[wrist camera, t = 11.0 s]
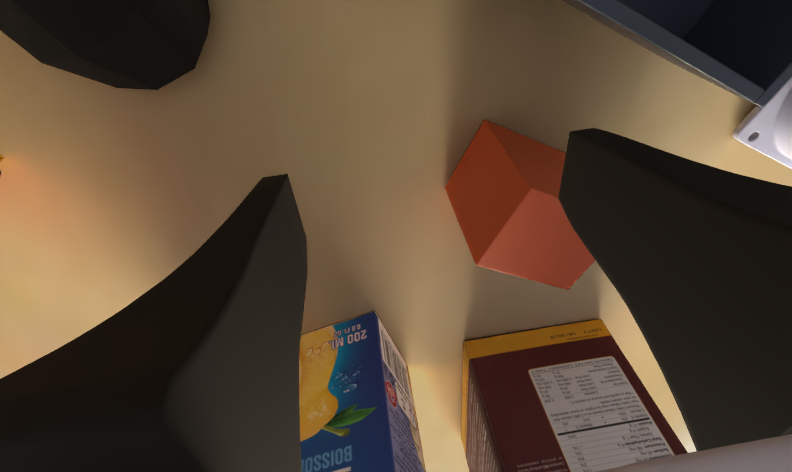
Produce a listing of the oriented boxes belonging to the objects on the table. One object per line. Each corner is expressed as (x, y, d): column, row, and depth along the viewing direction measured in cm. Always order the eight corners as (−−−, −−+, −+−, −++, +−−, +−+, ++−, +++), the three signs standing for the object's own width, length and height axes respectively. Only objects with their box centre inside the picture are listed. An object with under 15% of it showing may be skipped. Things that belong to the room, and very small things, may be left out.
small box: (565, 152, 22) (630, 223, 17) (521, 213, 24) (568, 290, 20) (484, 119, 20) (531, 187, 16) (444, 187, 22) (475, 265, 18)
